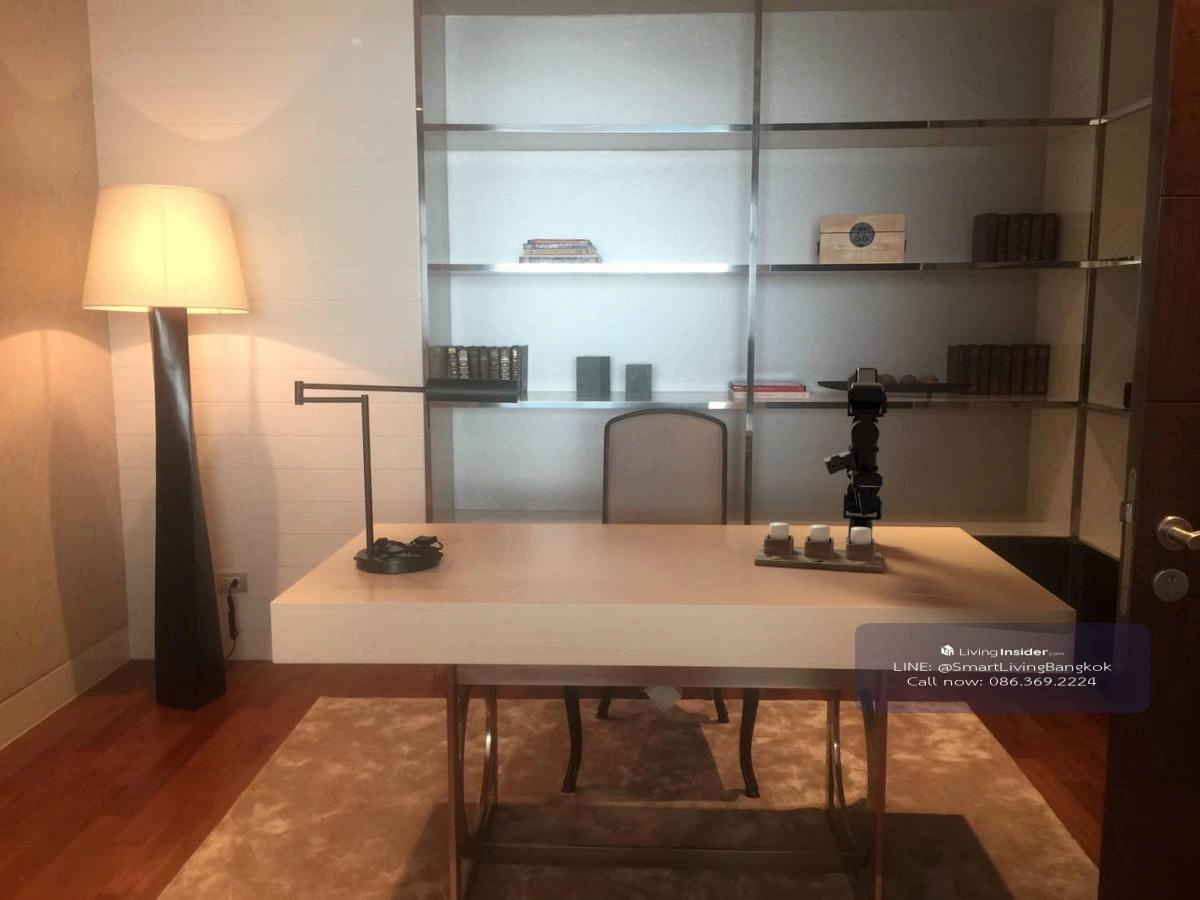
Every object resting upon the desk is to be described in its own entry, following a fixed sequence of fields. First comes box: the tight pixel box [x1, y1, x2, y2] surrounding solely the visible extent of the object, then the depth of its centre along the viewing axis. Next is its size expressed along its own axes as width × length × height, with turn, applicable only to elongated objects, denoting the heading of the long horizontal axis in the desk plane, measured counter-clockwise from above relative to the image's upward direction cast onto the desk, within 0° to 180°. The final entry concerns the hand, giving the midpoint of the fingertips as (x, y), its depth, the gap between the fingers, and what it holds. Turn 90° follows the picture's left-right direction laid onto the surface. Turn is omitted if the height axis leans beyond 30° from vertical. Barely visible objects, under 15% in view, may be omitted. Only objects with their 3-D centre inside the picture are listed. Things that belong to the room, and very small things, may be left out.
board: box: [754, 533, 883, 574], centre depth 212 cm, size 15×27×4 cm, turn 75°
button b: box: [809, 524, 831, 543], centre depth 213 cm, size 4×4×4 cm
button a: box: [851, 527, 871, 545], centre depth 210 cm, size 4×4×4 cm
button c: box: [768, 522, 790, 540], centre depth 215 cm, size 4×4×4 cm
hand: (861, 510), depth 209 cm, fingers open, 9 cm apart
